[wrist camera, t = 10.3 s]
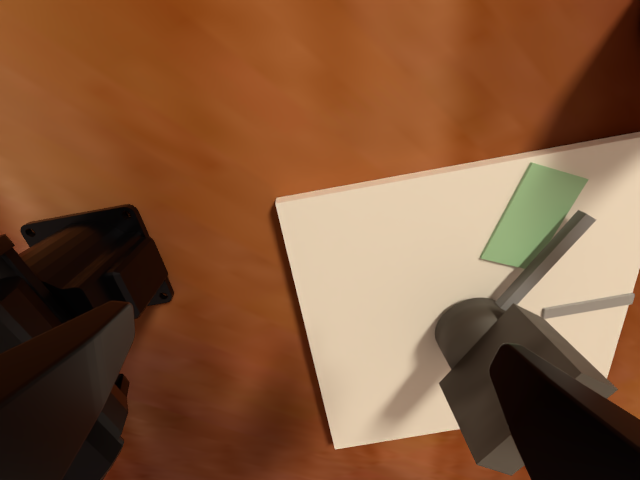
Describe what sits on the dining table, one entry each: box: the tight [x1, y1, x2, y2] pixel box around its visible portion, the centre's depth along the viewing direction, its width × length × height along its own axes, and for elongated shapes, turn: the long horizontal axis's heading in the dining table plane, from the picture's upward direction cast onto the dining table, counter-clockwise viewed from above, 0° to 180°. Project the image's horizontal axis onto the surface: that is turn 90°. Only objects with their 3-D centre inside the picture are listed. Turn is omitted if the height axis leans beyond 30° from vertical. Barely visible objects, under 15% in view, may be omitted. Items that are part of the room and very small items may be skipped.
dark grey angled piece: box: [435, 210, 618, 476], centre depth 18 cm, size 13×5×7 cm, turn 151°
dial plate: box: [275, 132, 640, 449], centre depth 23 cm, size 22×22×1 cm
